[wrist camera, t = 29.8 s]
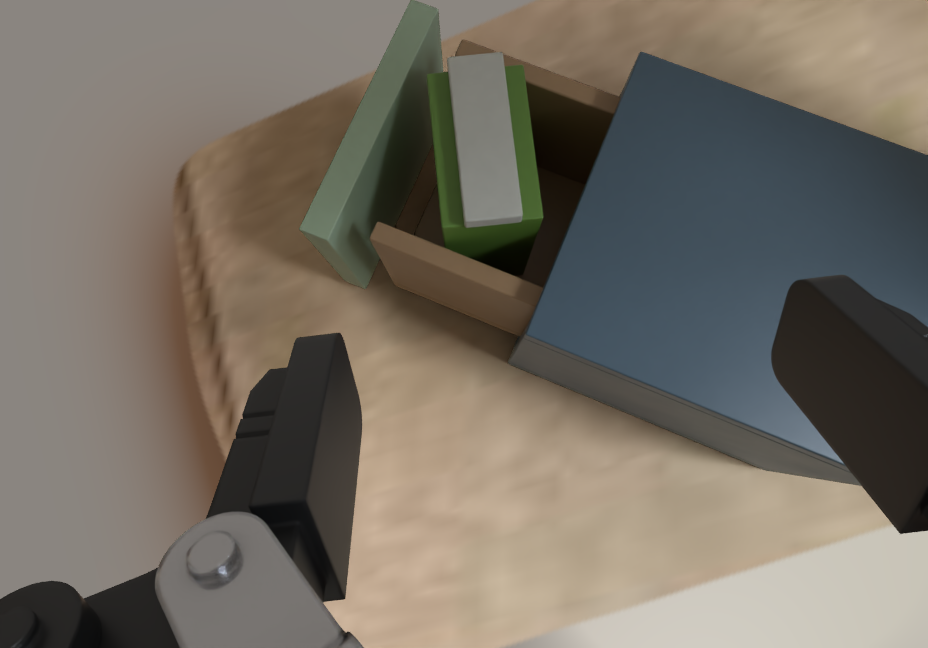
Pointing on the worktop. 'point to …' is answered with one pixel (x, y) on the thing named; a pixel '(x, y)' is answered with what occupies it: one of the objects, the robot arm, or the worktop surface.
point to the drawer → (398, 165)
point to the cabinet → (720, 259)
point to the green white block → (485, 161)
